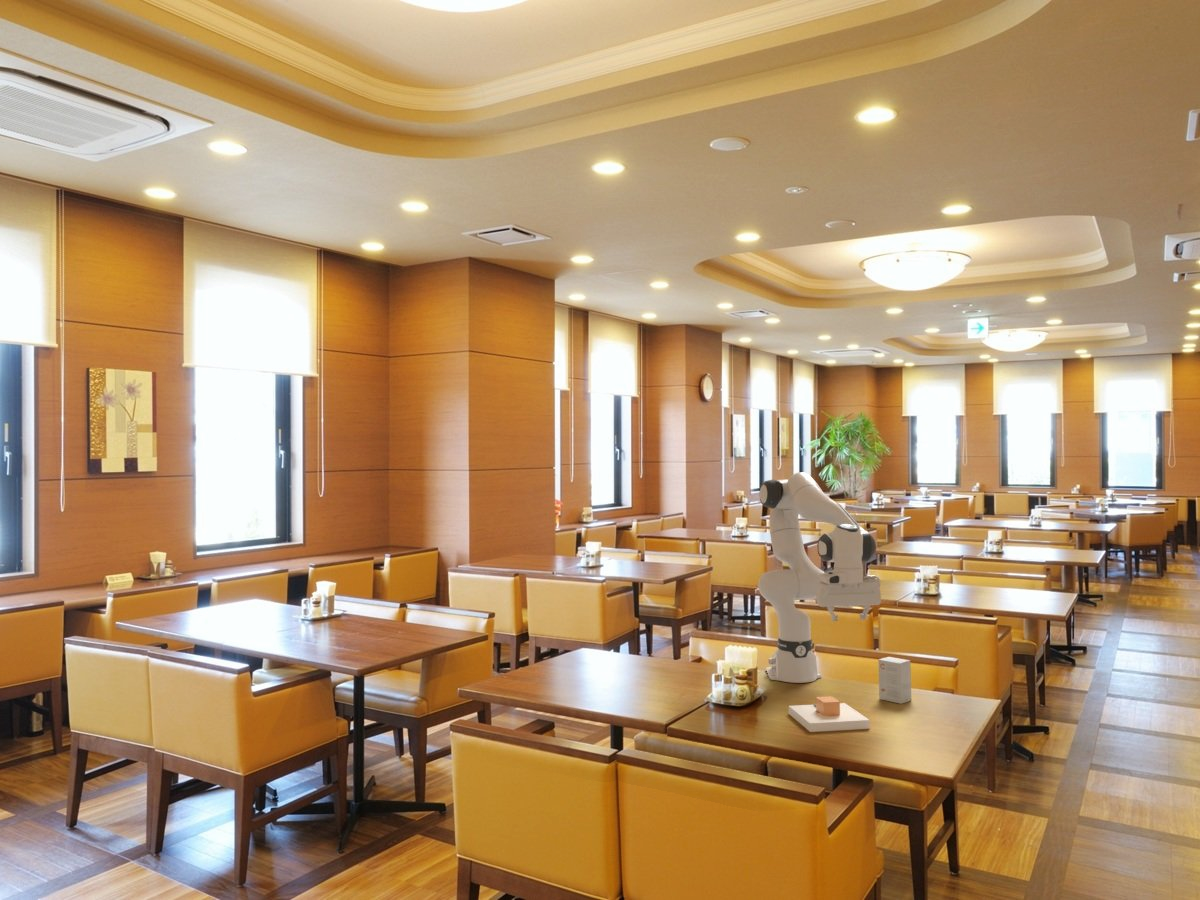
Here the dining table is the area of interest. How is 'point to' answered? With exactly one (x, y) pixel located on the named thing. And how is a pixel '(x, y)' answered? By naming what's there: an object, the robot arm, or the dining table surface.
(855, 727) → the socket plate
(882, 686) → the small box
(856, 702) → the dining table surface
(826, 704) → the plug
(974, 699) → the dining table surface
